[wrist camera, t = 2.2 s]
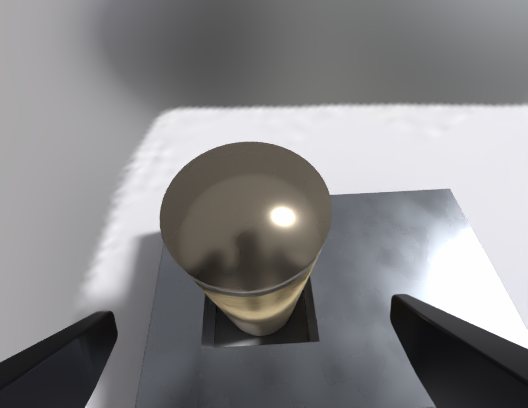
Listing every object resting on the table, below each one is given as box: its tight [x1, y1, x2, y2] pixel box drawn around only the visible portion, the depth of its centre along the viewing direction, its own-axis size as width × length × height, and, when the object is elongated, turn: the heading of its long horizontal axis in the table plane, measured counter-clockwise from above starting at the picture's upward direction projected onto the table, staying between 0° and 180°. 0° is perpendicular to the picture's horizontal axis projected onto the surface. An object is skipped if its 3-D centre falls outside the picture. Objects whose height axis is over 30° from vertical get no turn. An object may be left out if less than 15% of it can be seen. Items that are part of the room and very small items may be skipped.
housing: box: [135, 189, 528, 408], centre depth 16 cm, size 12×20×4 cm, turn 93°
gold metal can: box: [160, 142, 332, 336], centre depth 12 cm, size 5×5×12 cm
